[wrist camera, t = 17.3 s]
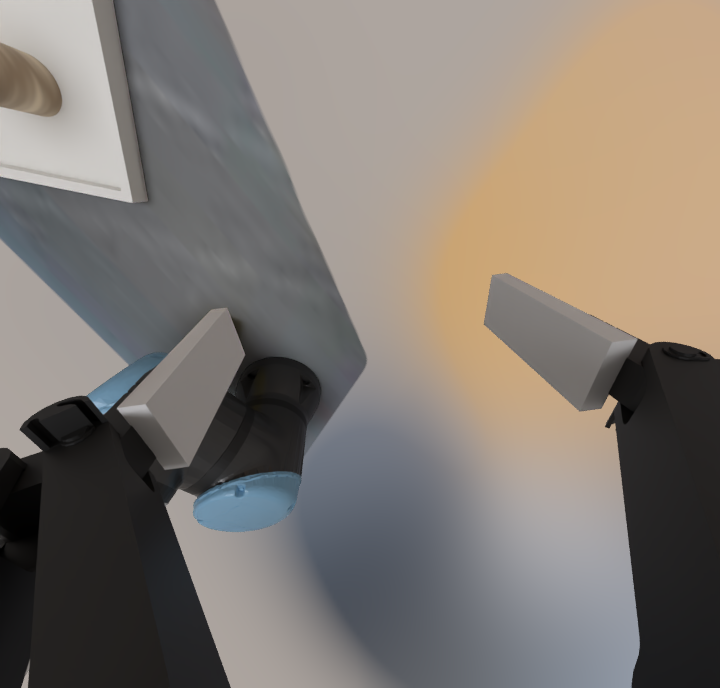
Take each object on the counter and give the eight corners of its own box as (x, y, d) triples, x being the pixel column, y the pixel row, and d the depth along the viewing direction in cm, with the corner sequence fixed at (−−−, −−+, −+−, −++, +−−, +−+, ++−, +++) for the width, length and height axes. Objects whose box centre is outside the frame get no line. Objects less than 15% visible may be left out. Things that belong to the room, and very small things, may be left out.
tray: (148, 201, 34) (132, 203, 31) (-23, 166, 31) (-55, 165, 28) (110, -12, 25) (85, -34, 22) (-135, -89, 22) (-197, -125, 19)
